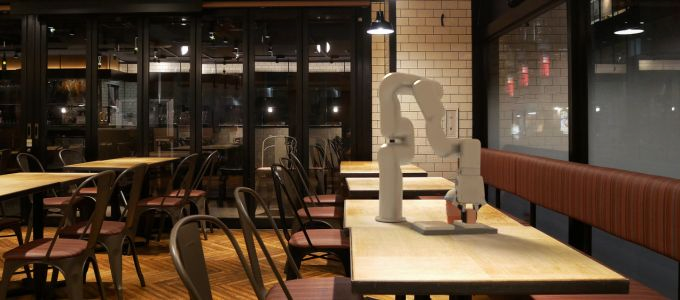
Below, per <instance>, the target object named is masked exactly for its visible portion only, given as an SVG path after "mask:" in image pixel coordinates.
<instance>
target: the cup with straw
mask: <svg viewBox="0 0 680 300" xmlns="http://www.w3.org/2000/svg"><path fill="white" fill-rule="evenodd" d="M456 181H457V177H455V178H454V188H451V189H449V190H448V191H447V193H446V194H445V195H444V197H443V199H444V200H445V211H446V219H447V220H446V221H447V222H446V223H448V224H451V223H454V220H461V211H460V210H459V209H458V208H457V207H456V206H454V205H453V204H452V201H453V199H454V198H455V188H456ZM457 203H458V204H460V202H457Z"/></svg>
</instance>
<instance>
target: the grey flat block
mask: <svg viewBox="0 0 680 300" xmlns="http://www.w3.org/2000/svg"><path fill="white" fill-rule="evenodd" d="M480 223H481V222H480ZM481 224H484V225H485V227H484V228H467V229H466V228H464V227H461V226H459V225H456V224H454V223H451V224H450V223H448V222H445V221H443V220H425V221H424V220H423V221H422V220H417V221H416V220H415V221H413V223H410V227H409V228H410V229H411V230H413V231H415V232H417V233H419V234H420V235H422V236H424V235H425V236H428V235H432V236H433V235H434V236H435V235H437V236H438V235H473V234H474V235H477V234H478V235H479V234H480V235H481V234H483V235H484V234H485V233H489V234H498V233H499V232H498V228H495V227H493V226H490V225H488V224H485V223H481Z"/></svg>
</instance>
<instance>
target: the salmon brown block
mask: <svg viewBox="0 0 680 300" xmlns="http://www.w3.org/2000/svg"><path fill="white" fill-rule="evenodd" d="M466 212H467V222H466V223H464V222H462V220H454V224H456V225H459V226H461V227H464V228H466V229H467V228H484V227H485V225H486V224H485V223H482V224H481V222H478V221H477V220H476V210H474V209H473V208H470V207H466ZM484 224H485V225H484Z"/></svg>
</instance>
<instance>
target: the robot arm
mask: <svg viewBox="0 0 680 300" xmlns="http://www.w3.org/2000/svg"><path fill="white" fill-rule="evenodd" d="M377 90H378V91H377V92H378V100H379V103H378V104H379V128H380V130H379V131H380V135H381V136H382V138H384V139H386V140H394V142H386V143H384V144H382V145H380V147H379V148H378V150H377V155H376V157H377V159H376V160H377V164H378V173H379V177H378V179H379V182H378V183H379V184H378V185H379V186H378V187H379V188H378V189H379V190H378V215H377V216H375V217H374V221H377V222H383V223H402V222H406V220H407V218H406V216H403V194H404V193H403V192H404V190H403V188H404V187H403V186H404V185H403V184H404V178H403V171H402V167H401V166H403V167H404V166H408V165H410V164H411V163H412V162H413V161H414V158H415V153H416V152H415V151H416V149H415V147H416V144H415V143H416V142H415V140H416V139H415V127H414V124H413V122H412V121H411V119H409V118H408V117H405V116H402V114H401V113H402V109H401V103H400V99H399V97H398V95H409V96H413V98H414V99H415V101H416V103H417V105H418V107H419V109H420V111H421V113H422V115H423V118H424V120H425V127H424V128H425V135H426V140H427V142H428V144H429V145H430V147H431V150H432V151H433V153H434V154H435V155H436V156H437V157H438V158H440V159H459V166H458V168H456V169H455V173H456V174H458V175H457V177H456V178H457V181H456V188H455V187H454V189H455V198H454V199H453V201H452V204H453V205H454V206H456V207H457V208H458V209H459V210H460V211H461V220H462V222H464V223H466V222H467V212H466V208H467V204H468V205H469V204H471V205H472V209H474V210H476V221H477V220H478V212H480V211H479V210H481V208H482V207H485V205H487V201H486V199H485V198H486V197H485V195H486V194H485V185H484V184H485V183H484V179H483V176H482V175H481V152H482V151H481V146H482V143H481V141H480V140H479V139H477V138H464V139H463V138H458V137H457V138H456V137H447V135H446V132H445V131H444V129H443V126H442V125H443V124H442V119H443V118H444V117H445V116H446V115H447V111H446V108H445V107H444V104H443V103H442V98H443V97H444V91H445V90H444V86H443V85H442V84H441V83H440V82H439V81H436V80H434V79H430V78H426V77H424V76H420V75H416V74H411V73H406V72H399V71H398V72H397V71H396V72H389V73H388V74H386V75H385V76H384V77H382V79H381V81H380V83H379V86H378V89H377ZM457 202H460V204H458V203H457Z"/></svg>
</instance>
